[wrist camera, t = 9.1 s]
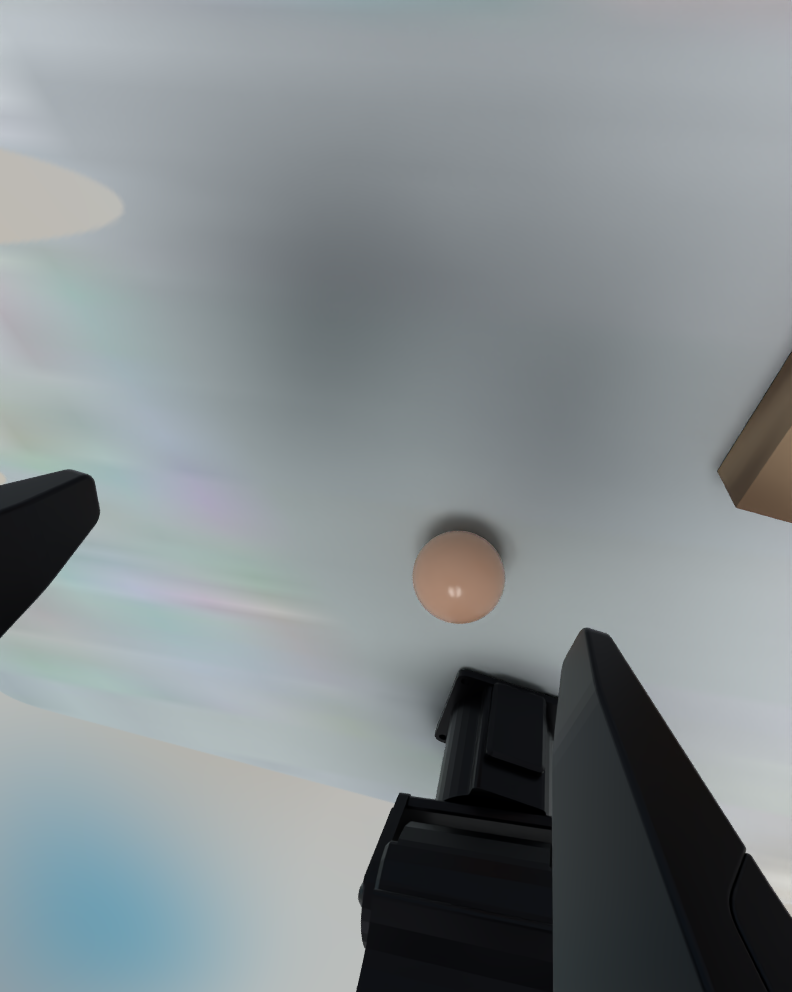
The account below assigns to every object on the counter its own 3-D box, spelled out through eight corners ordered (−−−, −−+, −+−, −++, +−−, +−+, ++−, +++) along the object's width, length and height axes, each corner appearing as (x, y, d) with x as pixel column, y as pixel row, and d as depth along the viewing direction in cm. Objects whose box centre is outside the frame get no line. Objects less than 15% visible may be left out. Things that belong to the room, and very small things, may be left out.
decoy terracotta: (494, 591, 26) (485, 655, 22) (415, 567, 26) (395, 626, 23) (519, 528, 23) (514, 588, 20) (432, 502, 24) (413, 558, 21)
